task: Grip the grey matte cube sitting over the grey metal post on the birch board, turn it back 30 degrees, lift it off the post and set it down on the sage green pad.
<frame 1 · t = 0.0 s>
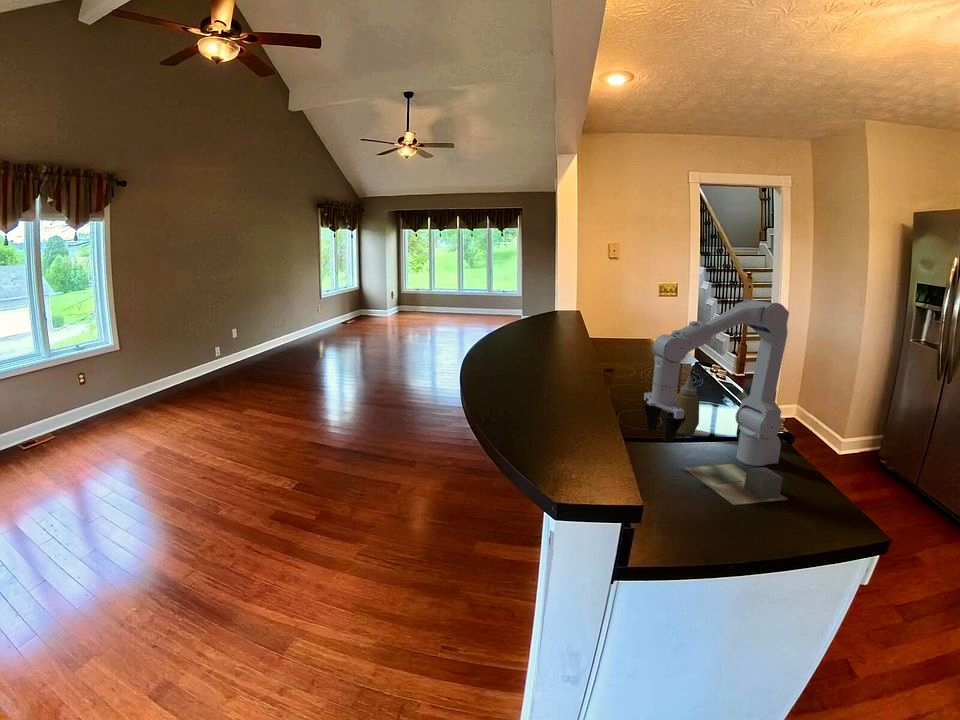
hand: (659, 435, 118), 10 cm above the table, tool pointing down, fingers open, 7 cm apart
squeeze bottle: (683, 432, 148), on the table
grey matte cube: (761, 492, 108), point 1 cm above the table, touching board
coffee jar: (751, 441, 141), on the table
board: (732, 488, 113), on the table
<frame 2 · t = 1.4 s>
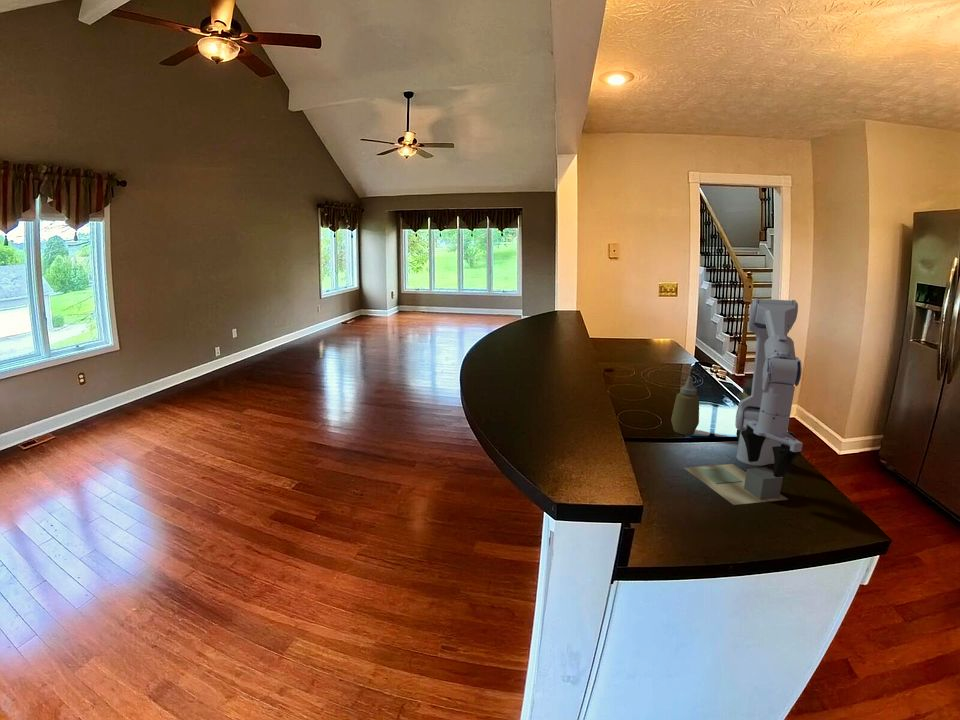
hand: (765, 468, 107), 8 cm above the table, tool pointing down, fingers open, 7 cm apart
nothing on the table moved.
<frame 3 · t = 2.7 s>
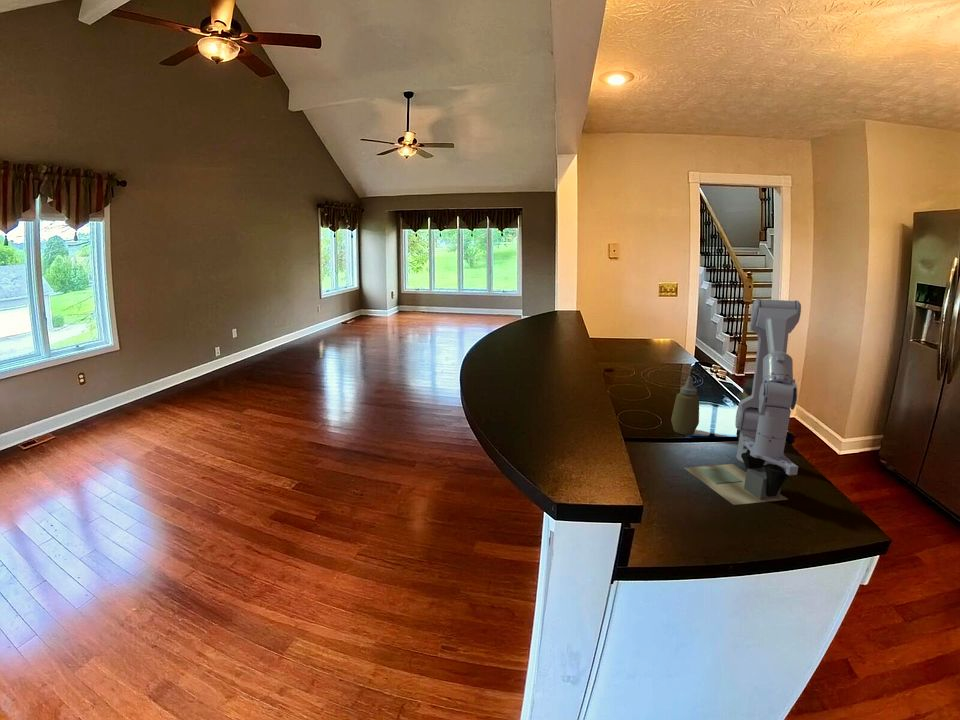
hand: (761, 489, 108), 2 cm above the table, tool pointing down, fingers closed on grey matte cube, 5 cm apart
grey matte cube: (761, 492, 108), point 1 cm above the table, touching board, gripper
everything else where it was.
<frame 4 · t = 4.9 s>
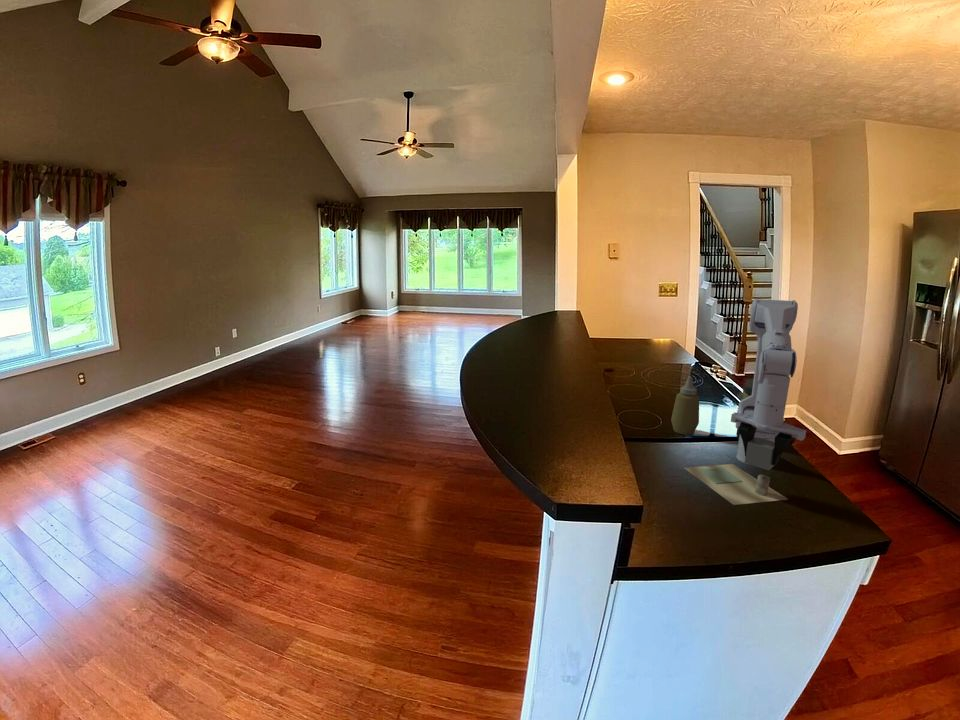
hand: (761, 459, 107), 9 cm above the table, tool pointing down, fingers closed on grey matte cube, 5 cm apart
grey matte cube: (760, 463, 108), point 8 cm above the table, touching gripper
everything else where it was.
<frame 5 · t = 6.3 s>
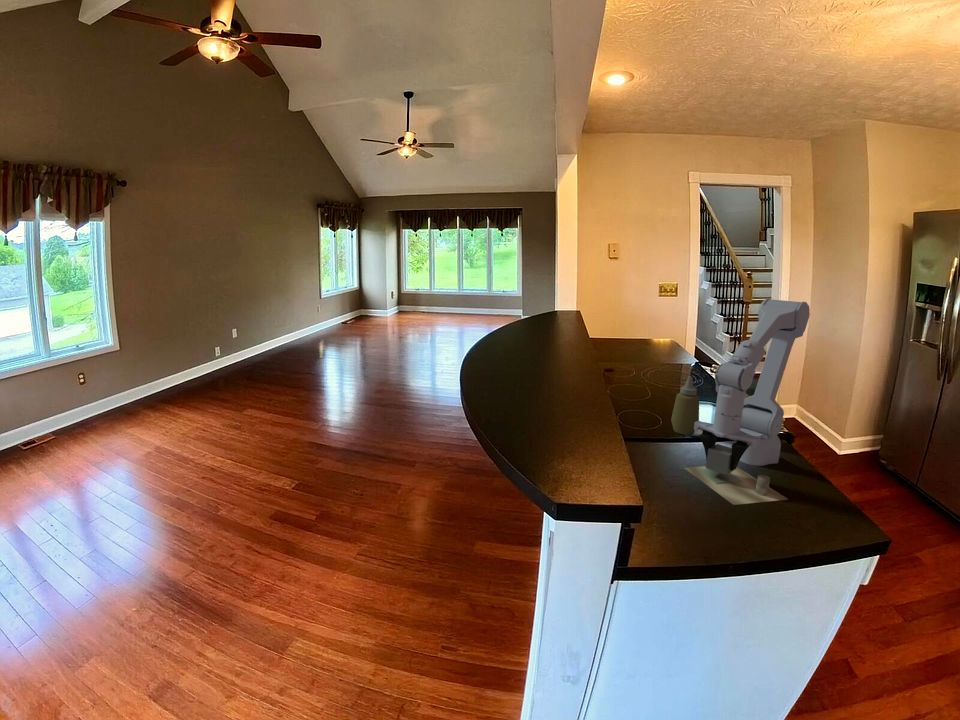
hand: (721, 465, 115), 4 cm above the table, tool pointing down, fingers closed on grey matte cube, 5 cm apart
grey matte cube: (720, 468, 115), point 4 cm above the table, touching gripper
everything else where it was.
when the fingers open (4 cm above the table, at t = 7.3 s): grey matte cube drops 1 cm, resting on board.
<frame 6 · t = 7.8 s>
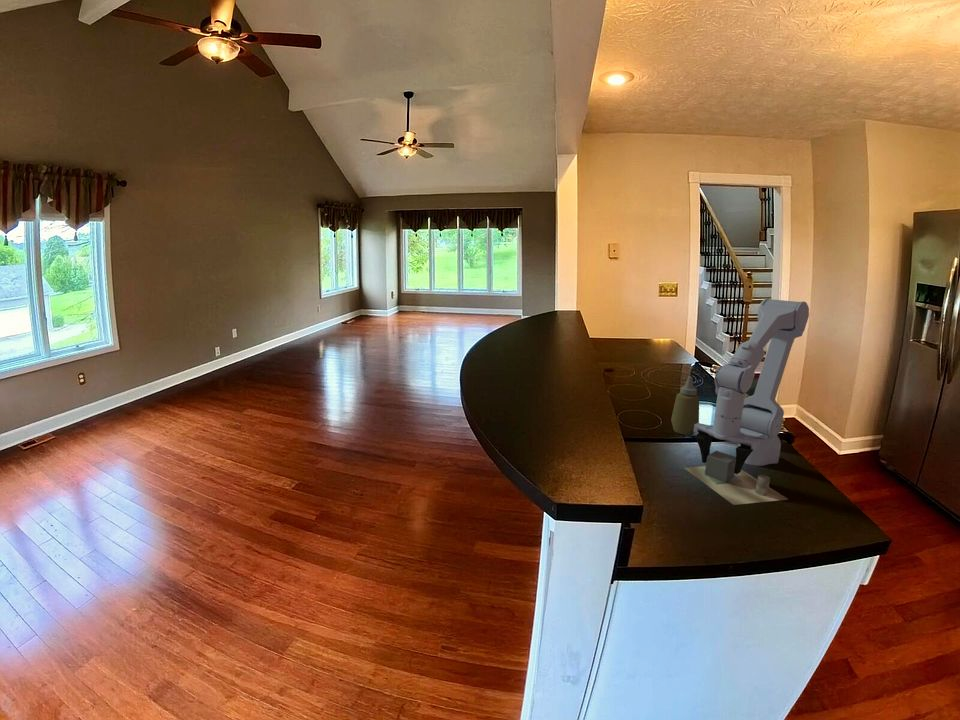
hand: (720, 467, 115), 4 cm above the table, tool pointing down, fingers open, 7 cm apart
grey matte cube: (719, 475, 116), point 2 cm above the table, touching board
everything else where it was.
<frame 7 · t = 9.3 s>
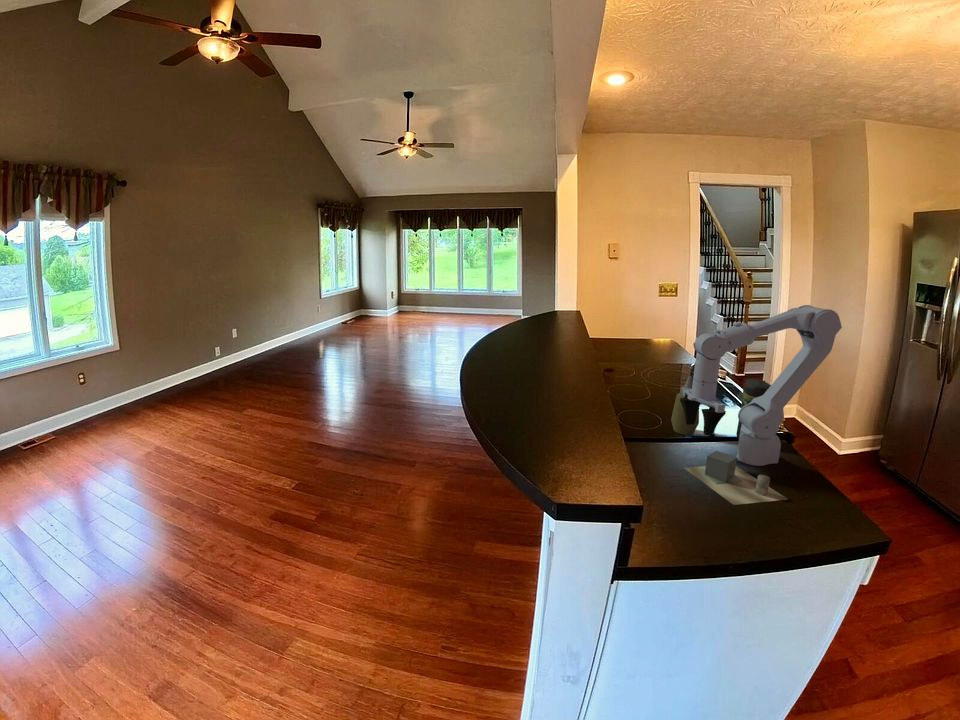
hand: (698, 429, 125), 9 cm above the table, tool pointing down, fingers open, 7 cm apart
nothing on the table moved.
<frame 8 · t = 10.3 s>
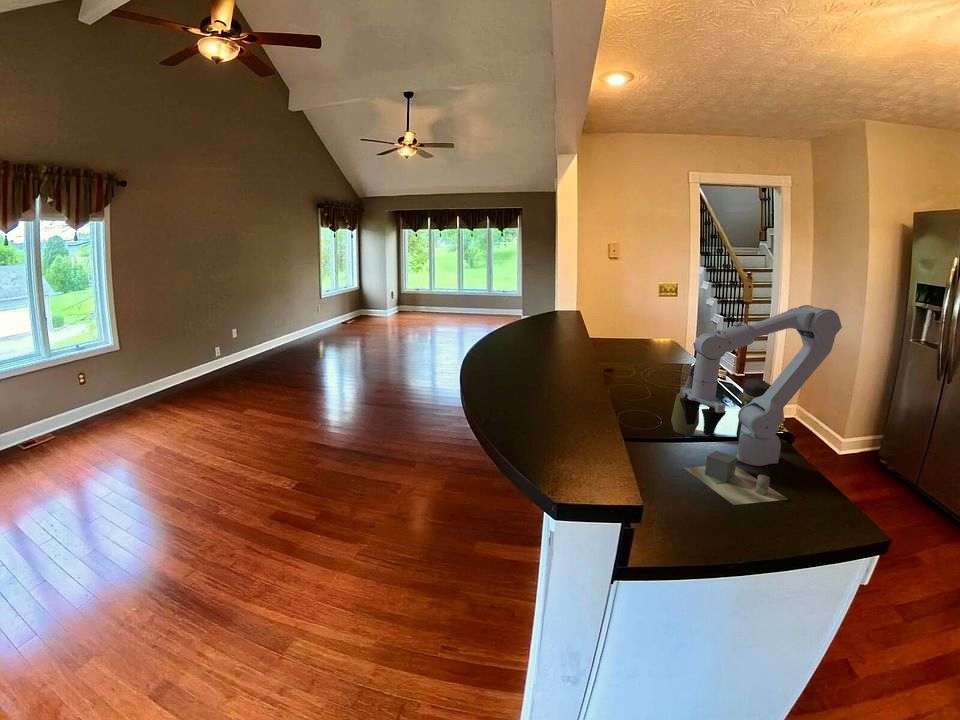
hand: (698, 429, 125), 9 cm above the table, tool pointing down, fingers open, 7 cm apart
nothing on the table moved.
at the end: grey matte cube 0.1 cm from the target spot on the board, point 1.7 cm above the board's base; grey matte cube tilted 0°; the gripper is holding nothing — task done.
